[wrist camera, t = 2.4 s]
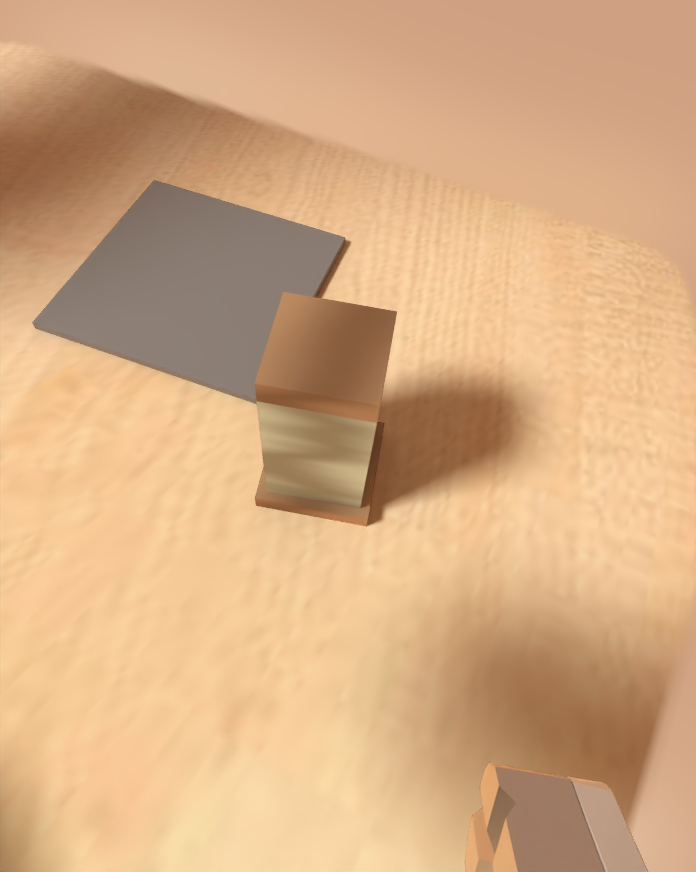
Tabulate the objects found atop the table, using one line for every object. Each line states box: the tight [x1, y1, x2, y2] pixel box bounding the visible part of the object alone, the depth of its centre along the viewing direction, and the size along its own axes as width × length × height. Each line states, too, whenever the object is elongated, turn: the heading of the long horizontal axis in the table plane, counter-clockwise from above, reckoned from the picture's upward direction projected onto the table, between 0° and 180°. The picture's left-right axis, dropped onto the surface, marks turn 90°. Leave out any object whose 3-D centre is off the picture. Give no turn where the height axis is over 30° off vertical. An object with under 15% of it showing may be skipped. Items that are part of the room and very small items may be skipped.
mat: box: [32, 180, 345, 404], centre depth 32 cm, size 12×12×1 cm
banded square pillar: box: [254, 292, 397, 526], centre depth 24 cm, size 5×5×8 cm
